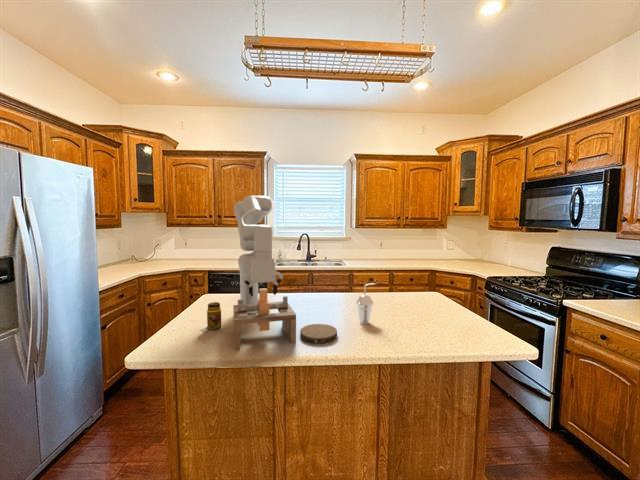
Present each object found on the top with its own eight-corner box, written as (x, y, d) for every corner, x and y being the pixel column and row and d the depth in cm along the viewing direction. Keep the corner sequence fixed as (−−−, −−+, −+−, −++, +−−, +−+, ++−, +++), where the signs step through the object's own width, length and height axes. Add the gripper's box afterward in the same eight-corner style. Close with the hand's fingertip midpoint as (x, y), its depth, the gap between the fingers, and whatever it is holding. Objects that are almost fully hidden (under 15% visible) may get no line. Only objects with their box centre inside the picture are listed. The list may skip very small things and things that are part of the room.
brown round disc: (302, 329, 137) (302, 323, 137) (336, 330, 137) (336, 324, 136) (298, 344, 121) (298, 337, 121) (337, 345, 121) (337, 338, 120)
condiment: (215, 333, 132) (215, 306, 131) (199, 330, 134) (199, 304, 133) (225, 327, 139) (225, 302, 138) (210, 325, 141) (210, 300, 140)
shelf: (233, 331, 133) (233, 294, 132) (286, 326, 141) (286, 290, 139) (235, 350, 114) (234, 307, 113) (295, 343, 122) (296, 302, 120)
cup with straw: (360, 318, 153) (361, 279, 151) (376, 322, 147) (377, 282, 146) (352, 323, 146) (353, 282, 144) (369, 327, 140) (370, 285, 139)
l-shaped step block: (257, 324, 131) (257, 287, 129) (266, 323, 132) (266, 286, 130) (259, 331, 123) (259, 292, 121) (269, 330, 124) (269, 291, 123)
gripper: (242, 256, 119) (242, 298, 120) (285, 255, 124) (285, 295, 125) (241, 254, 126) (241, 294, 127) (281, 253, 131) (281, 291, 132)
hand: (263, 294), depth 126 cm, fingers open, 9 cm apart
